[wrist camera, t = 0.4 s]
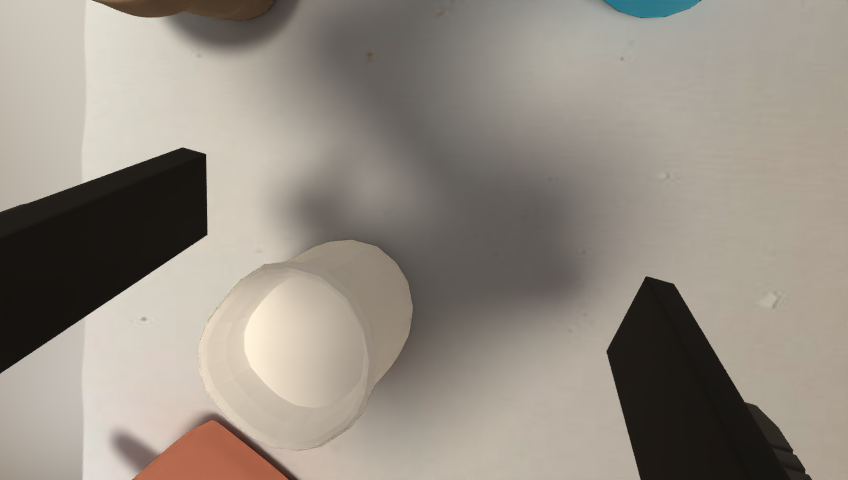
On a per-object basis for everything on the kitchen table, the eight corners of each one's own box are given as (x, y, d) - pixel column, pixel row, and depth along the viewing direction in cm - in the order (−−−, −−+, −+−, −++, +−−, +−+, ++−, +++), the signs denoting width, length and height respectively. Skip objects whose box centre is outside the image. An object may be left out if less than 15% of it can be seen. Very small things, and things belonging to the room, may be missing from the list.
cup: (281, 355, 33) (187, 426, 24) (296, 223, 31) (201, 243, 22) (404, 387, 31) (356, 477, 22) (427, 249, 30) (386, 283, 20)
